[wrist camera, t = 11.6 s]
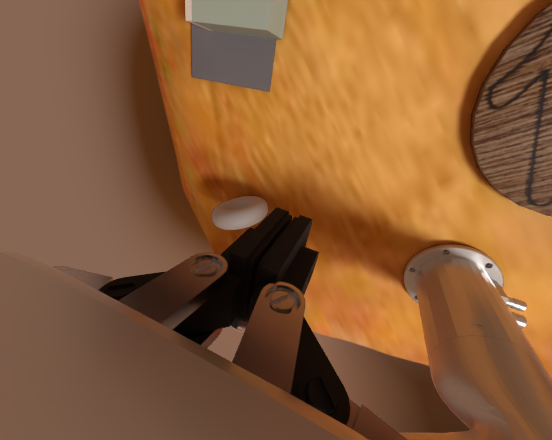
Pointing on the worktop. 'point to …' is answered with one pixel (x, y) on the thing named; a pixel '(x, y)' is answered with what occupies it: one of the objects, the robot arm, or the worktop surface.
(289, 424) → the robot arm
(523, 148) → the trivet
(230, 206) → the donut
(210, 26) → the sage block
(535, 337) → the worktop surface
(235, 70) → the charcoal mat
